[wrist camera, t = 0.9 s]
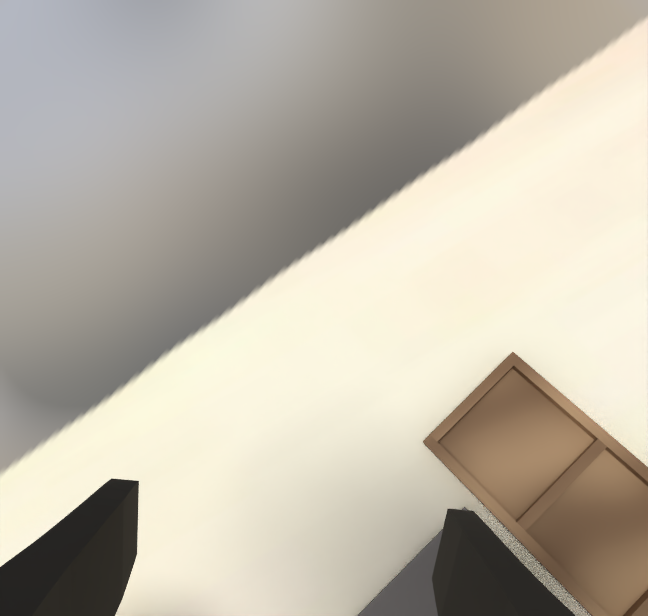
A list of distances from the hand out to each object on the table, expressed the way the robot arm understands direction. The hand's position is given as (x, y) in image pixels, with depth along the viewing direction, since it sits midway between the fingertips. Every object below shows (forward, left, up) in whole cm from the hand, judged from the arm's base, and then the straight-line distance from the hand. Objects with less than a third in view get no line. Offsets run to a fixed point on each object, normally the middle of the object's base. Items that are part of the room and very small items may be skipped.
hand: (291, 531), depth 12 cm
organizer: (-8, -7, -16) cm, 19 cm away
